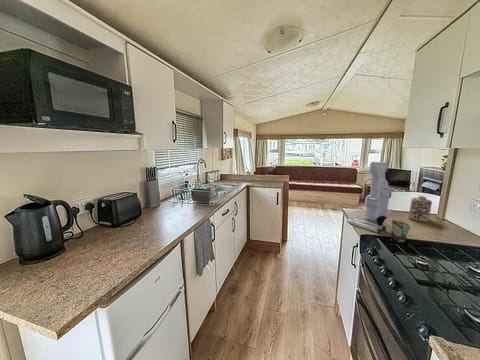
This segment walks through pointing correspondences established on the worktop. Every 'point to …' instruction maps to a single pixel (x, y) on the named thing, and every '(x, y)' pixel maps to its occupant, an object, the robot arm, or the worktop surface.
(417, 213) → the decorative jar
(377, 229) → the fixed tong arm
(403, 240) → the food container
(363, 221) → the hinged tong arm
